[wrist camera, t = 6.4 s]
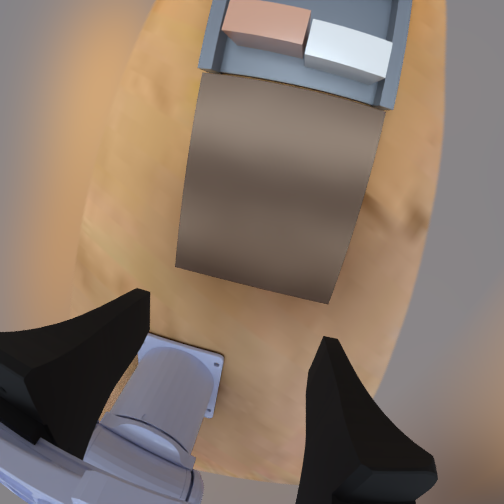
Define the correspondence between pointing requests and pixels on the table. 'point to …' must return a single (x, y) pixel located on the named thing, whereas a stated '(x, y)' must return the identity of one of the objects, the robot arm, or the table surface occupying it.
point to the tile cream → (347, 52)
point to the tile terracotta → (268, 26)
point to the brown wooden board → (274, 184)
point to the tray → (291, 68)
